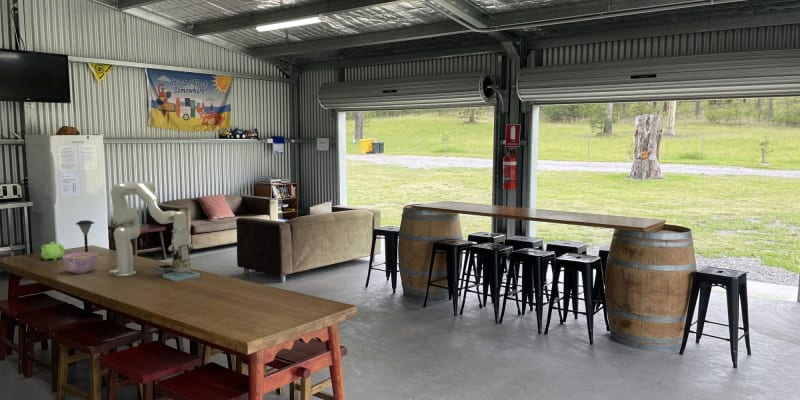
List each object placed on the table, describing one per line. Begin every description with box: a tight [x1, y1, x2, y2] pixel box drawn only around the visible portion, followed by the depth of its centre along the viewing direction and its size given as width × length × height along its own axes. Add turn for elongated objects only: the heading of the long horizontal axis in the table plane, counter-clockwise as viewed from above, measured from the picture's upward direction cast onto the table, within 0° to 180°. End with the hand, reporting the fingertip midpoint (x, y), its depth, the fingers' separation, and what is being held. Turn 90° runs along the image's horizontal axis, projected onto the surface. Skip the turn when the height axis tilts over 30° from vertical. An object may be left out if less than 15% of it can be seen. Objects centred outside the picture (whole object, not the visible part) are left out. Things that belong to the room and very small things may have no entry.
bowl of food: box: [62, 251, 98, 275], centre depth 372 cm, size 20×20×12 cm
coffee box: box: [171, 245, 191, 272], centre depth 357 cm, size 9×6×16 cm
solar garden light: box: [75, 219, 95, 252], centre depth 402 cm, size 12×12×30 cm
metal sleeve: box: [153, 263, 178, 277], centre depth 368 cm, size 10×13×5 cm
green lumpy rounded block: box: [40, 241, 66, 261], centre depth 415 cm, size 16×14×13 cm
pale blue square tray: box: [162, 270, 201, 283], centre depth 358 cm, size 16×16×2 cm
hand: (181, 258), depth 357 cm, fingers closed on coffee box, 7 cm apart
